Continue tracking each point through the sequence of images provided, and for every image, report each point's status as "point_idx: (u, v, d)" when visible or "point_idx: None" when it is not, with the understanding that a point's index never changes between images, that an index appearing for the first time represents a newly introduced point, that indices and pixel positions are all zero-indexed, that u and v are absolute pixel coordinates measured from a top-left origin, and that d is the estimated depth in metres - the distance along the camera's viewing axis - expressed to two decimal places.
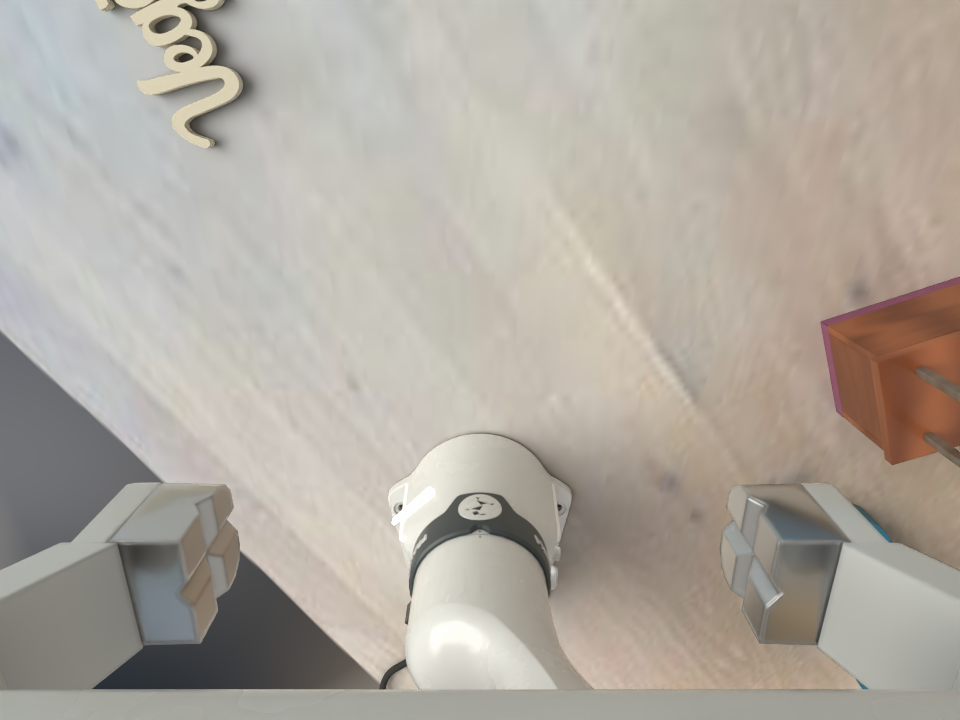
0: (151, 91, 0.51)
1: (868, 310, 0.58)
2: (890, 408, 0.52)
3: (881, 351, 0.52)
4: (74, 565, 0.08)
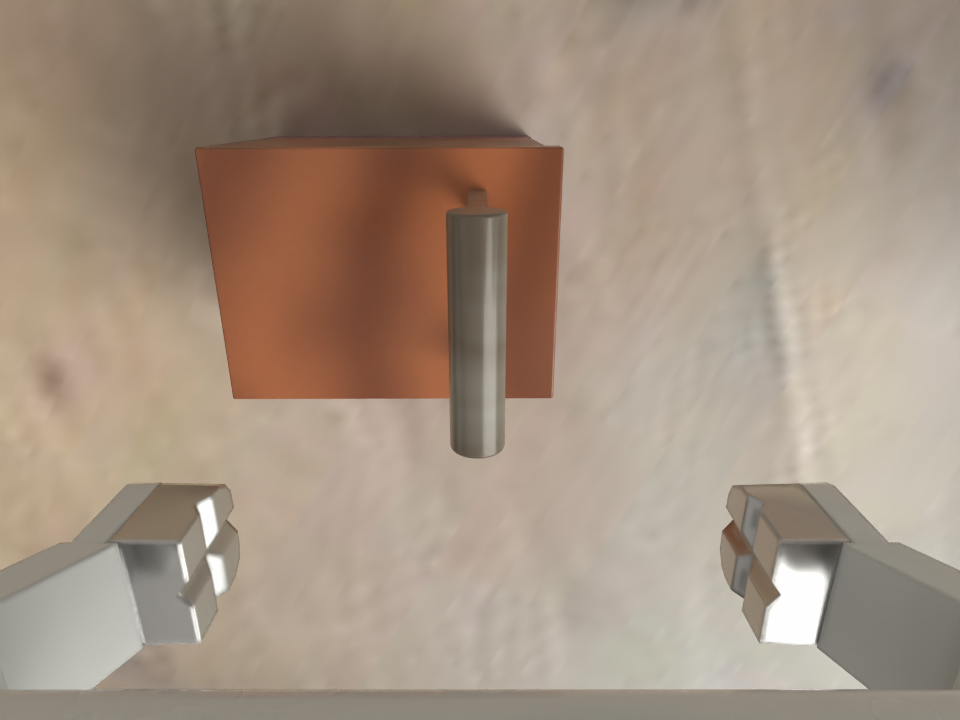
0: None
1: None
2: (544, 294, 0.25)
3: None
4: (74, 565, 0.08)
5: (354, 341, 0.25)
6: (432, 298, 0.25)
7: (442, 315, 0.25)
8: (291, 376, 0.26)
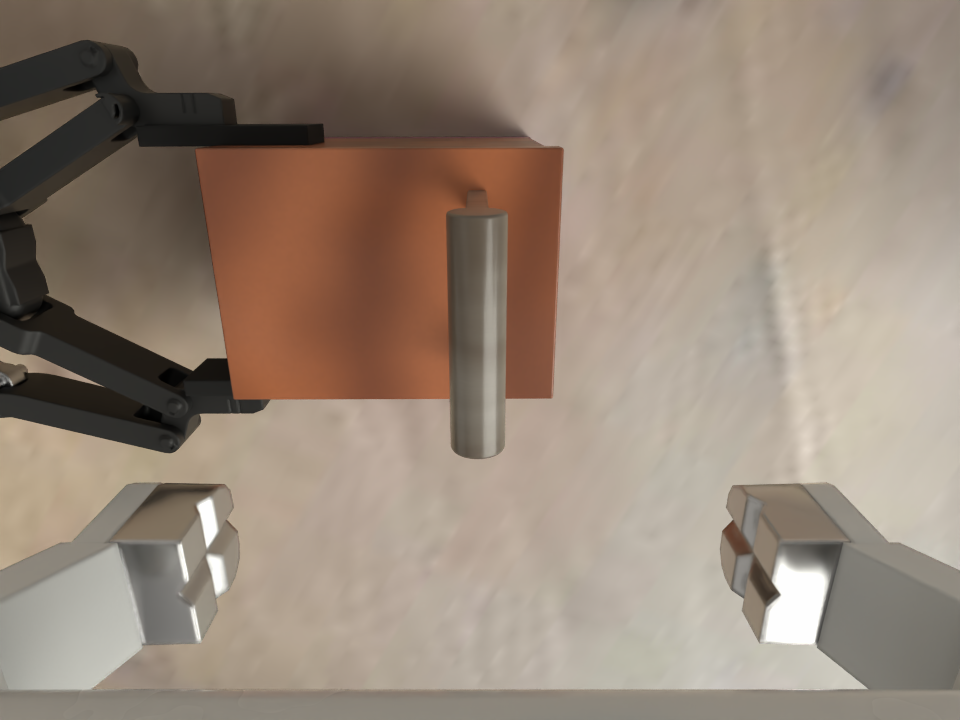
0: None
1: None
2: (544, 295, 0.25)
3: None
4: (74, 565, 0.08)
5: (354, 342, 0.25)
6: (432, 298, 0.25)
7: (442, 315, 0.25)
8: (290, 377, 0.26)
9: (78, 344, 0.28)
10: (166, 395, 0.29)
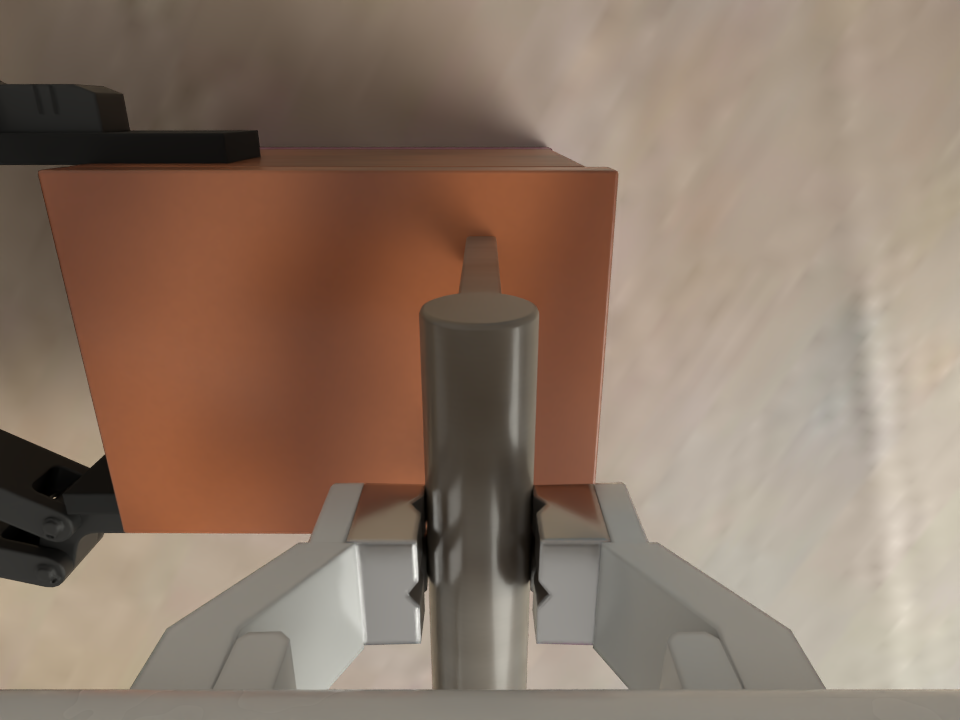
0: None
1: None
2: (582, 391, 0.16)
3: None
4: (324, 565, 0.08)
5: (297, 455, 0.17)
6: (413, 396, 0.16)
7: None
8: (205, 504, 0.18)
9: None
10: (41, 512, 0.20)
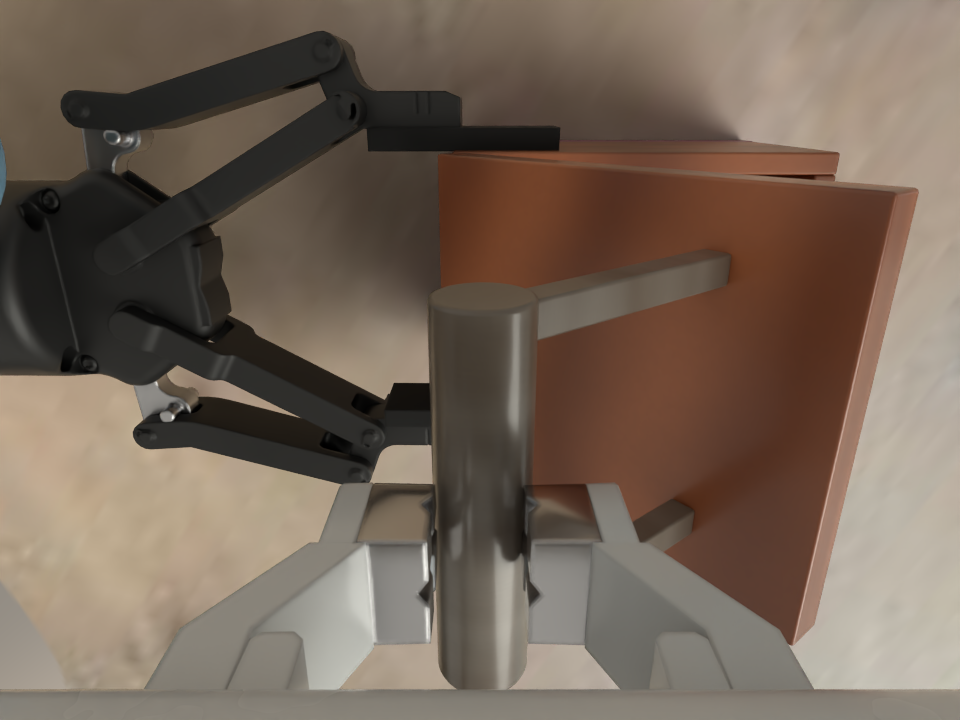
0: None
1: None
2: (805, 465, 0.13)
3: None
4: (336, 565, 0.08)
5: (543, 420, 0.19)
6: (633, 401, 0.16)
7: (643, 430, 0.16)
8: None
9: (270, 368, 0.25)
10: (362, 425, 0.26)
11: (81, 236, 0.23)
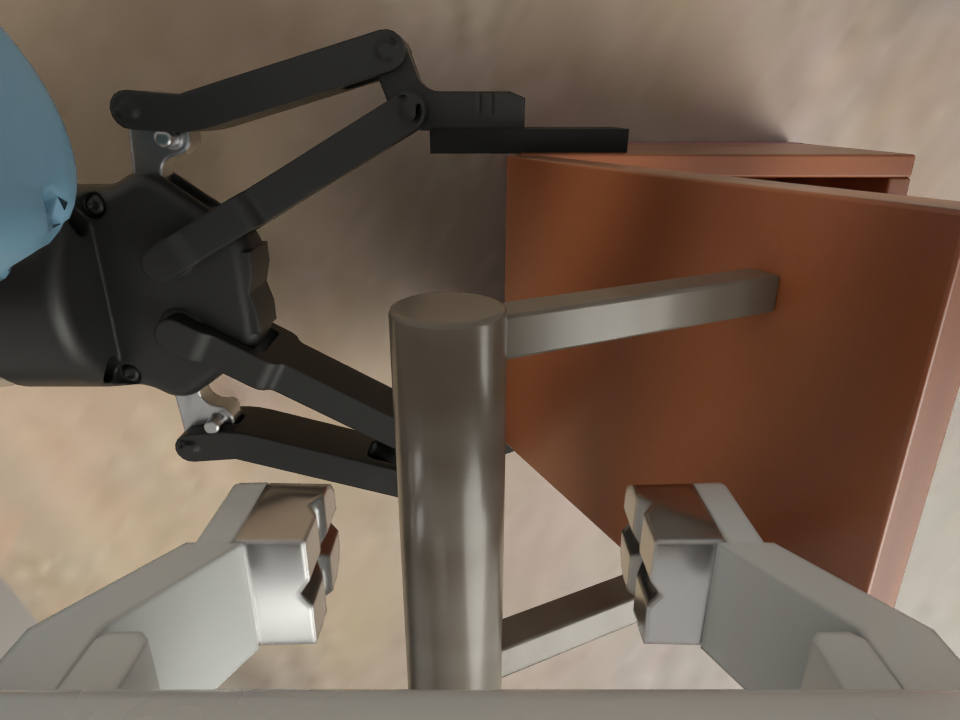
0: None
1: None
2: (851, 528, 0.11)
3: None
4: (206, 565, 0.08)
5: (589, 440, 0.18)
6: (675, 430, 0.15)
7: (683, 464, 0.15)
8: (538, 446, 0.21)
9: (320, 377, 0.25)
10: None
11: (128, 241, 0.22)
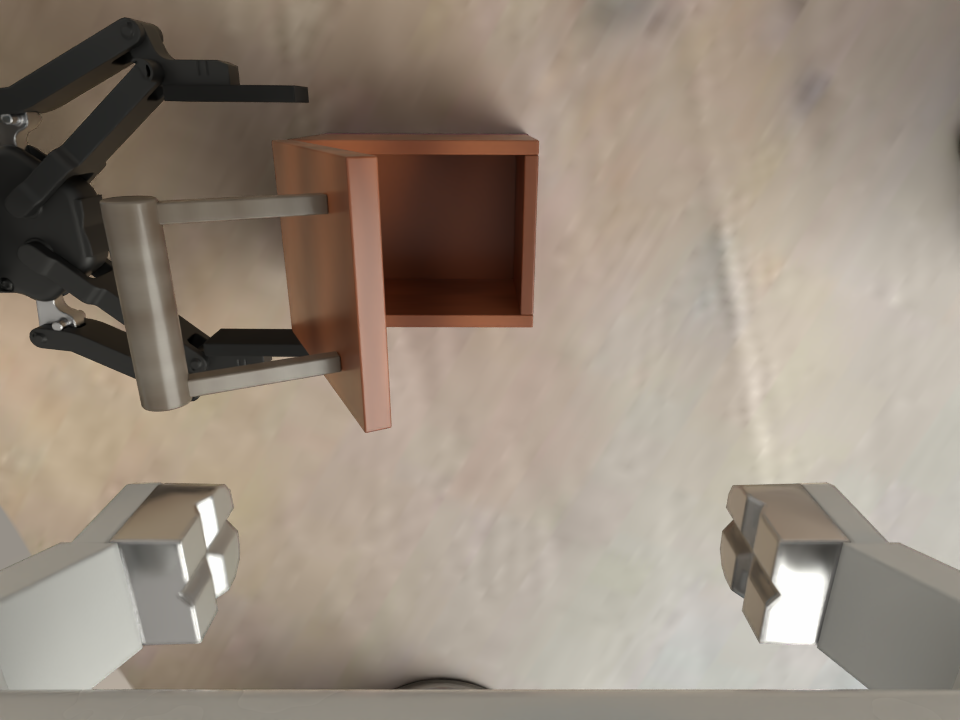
0: None
1: None
2: (353, 316, 0.23)
3: (519, 325, 0.36)
4: (74, 565, 0.08)
5: (309, 312, 0.29)
6: (323, 291, 0.26)
7: (326, 309, 0.26)
8: (300, 327, 0.32)
9: None
10: (191, 354, 0.37)
11: None
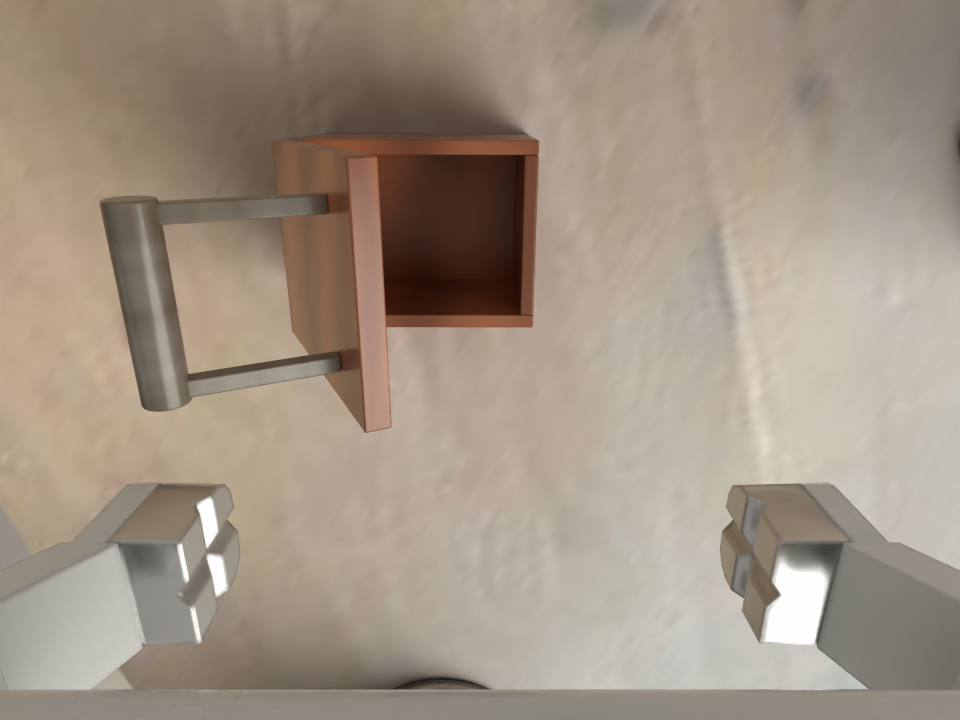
0: None
1: None
2: (353, 316, 0.23)
3: (519, 325, 0.36)
4: (73, 565, 0.08)
5: (309, 312, 0.29)
6: (323, 291, 0.26)
7: (326, 309, 0.26)
8: (300, 327, 0.32)
9: None
10: None
11: None
